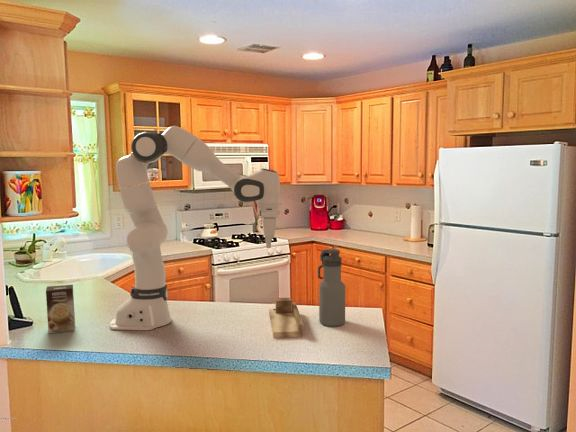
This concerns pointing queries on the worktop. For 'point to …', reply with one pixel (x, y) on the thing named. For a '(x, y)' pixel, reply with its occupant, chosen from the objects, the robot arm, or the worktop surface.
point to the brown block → (283, 305)
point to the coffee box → (60, 308)
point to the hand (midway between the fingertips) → (268, 245)
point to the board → (286, 323)
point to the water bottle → (331, 289)
